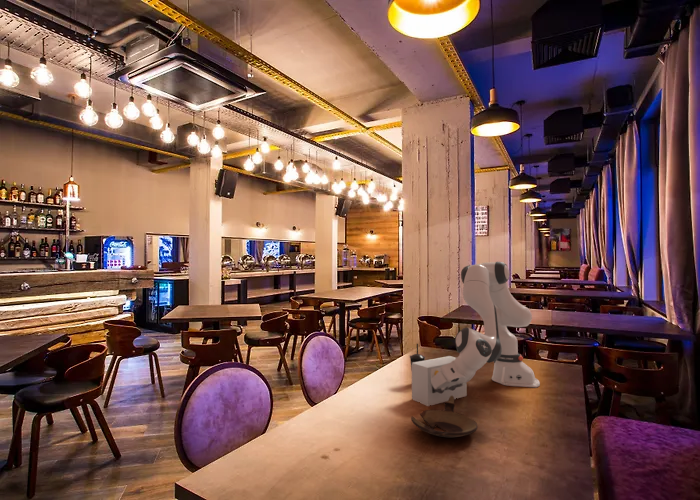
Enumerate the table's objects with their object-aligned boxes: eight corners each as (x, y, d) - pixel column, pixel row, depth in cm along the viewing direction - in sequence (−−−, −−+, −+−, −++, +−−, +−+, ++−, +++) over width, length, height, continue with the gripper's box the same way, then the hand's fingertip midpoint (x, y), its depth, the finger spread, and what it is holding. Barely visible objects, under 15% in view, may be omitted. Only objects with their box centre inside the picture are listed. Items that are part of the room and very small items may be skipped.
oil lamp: (397, 435, 135) (397, 412, 136) (442, 411, 157) (442, 392, 157) (455, 457, 120) (455, 431, 120) (496, 427, 141) (496, 406, 142)
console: (467, 396, 175) (467, 360, 176) (428, 406, 162) (428, 368, 163) (450, 389, 184) (449, 355, 185) (411, 399, 171) (411, 362, 172)
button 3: (444, 392, 164) (444, 383, 164) (438, 394, 162) (437, 384, 162) (439, 390, 167) (439, 381, 167) (432, 392, 165) (432, 382, 165)
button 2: (456, 389, 168) (456, 380, 168) (449, 391, 166) (449, 381, 166) (451, 387, 171) (451, 378, 171) (444, 389, 168) (444, 380, 169)
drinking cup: (424, 382, 196) (424, 342, 197) (426, 386, 189) (425, 345, 190) (409, 381, 197) (409, 342, 198) (410, 386, 189) (410, 345, 190)
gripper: (474, 359, 162) (456, 377, 170) (439, 366, 151) (421, 385, 159) (483, 373, 158) (464, 390, 166) (447, 380, 147) (429, 399, 155)
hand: (443, 388), depth 162 cm, fingers closed
